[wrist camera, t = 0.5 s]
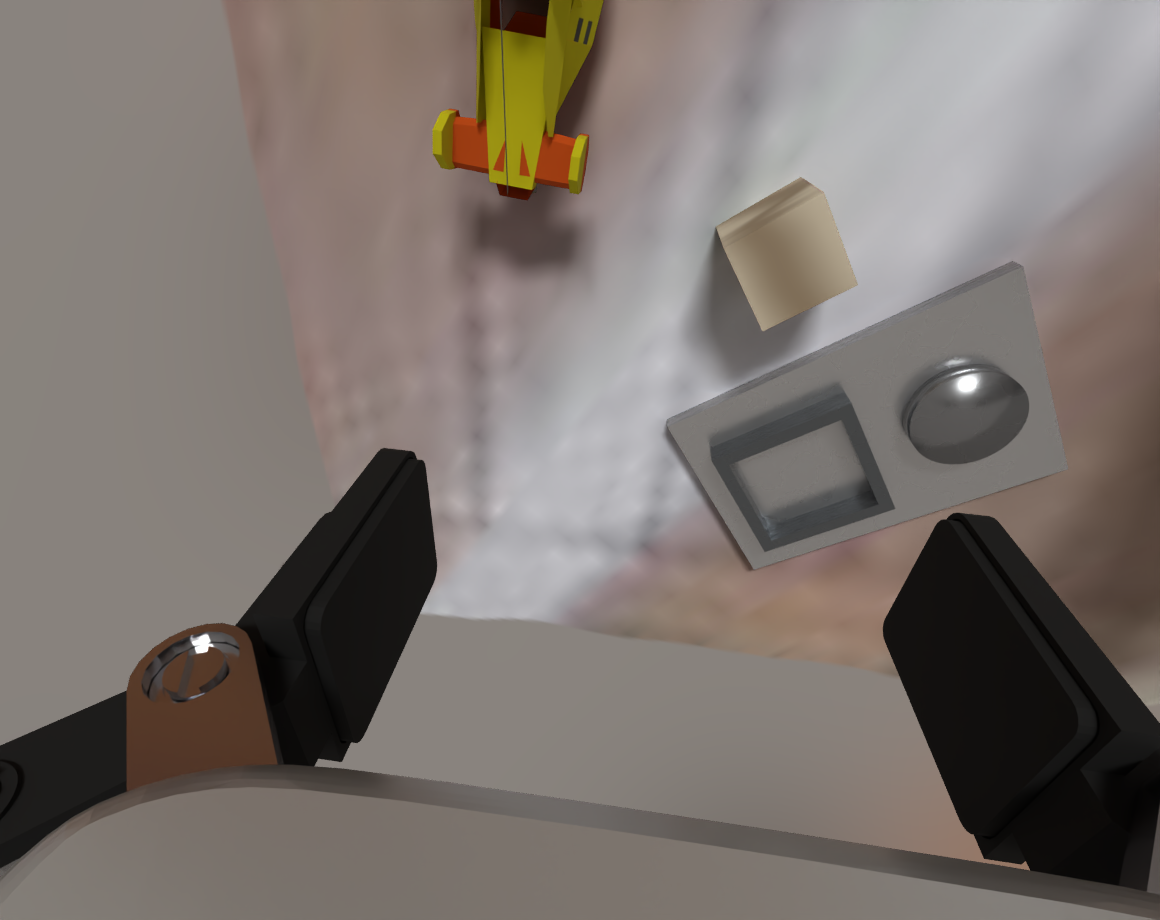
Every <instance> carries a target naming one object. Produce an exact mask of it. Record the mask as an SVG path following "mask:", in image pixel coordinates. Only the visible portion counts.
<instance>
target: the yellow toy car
mask: <svg viewBox="0 0 1160 920" xmlns="http://www.w3.org/2000/svg"><path fill="white" fill-rule="evenodd" d="M603 1H604V0H550V1H549V9H548V16H547V17H546V16H541V15H535V14H530V13H525V12H519V11H516V13H515V14H514V16H513V17H512V19H511V20H510V22H509V24H508V25H507V27H506V28H505V30H503V29H502V0H474V11H475V24H476V29H477V90H476V119H474V118H465V117H460V114H459V110H454V109H448V110H445V111H443V112H441V113H440V115H439V117H438V119H437V121H436V124H435V126H434V128H433V155H434V156H435V158H436V160H437V161H438V163H439V165H440V167H441V168H444V169H449V170H450V169H454V168H463V169H467V170H472V171H477V172H482V173H487V174H489V182H493V183H496V184H497V187H498V191H499V194H500V195H502V196H507V197H512V198H517V199H523V200H528V199H529V197H530V196H531V194H532V193H536V189H537V183H540V184H545V185H551V186H556V187H561V188H567V189H569V190H570V193H574V194H579V193H580V192H581V191H582V186H583V181H584V176H585V170H586V163H587V156H588V148H589V135H586V134H581V133H580V135H579V136H578V137H577V138H576V139H574V138H570V137H566V136H563V135H559V134H555V133H554V127H555V120H556V115H557V113H558V111H559V109H560V107H561V105H562V103H563V101H564V99H565V97H566V95H567V93H568V91H569V90H570V88H571V86H572V84H573V82H574V80H575V78H576V76H577V74H578V72H579V70H580V68H581V66H582V64H583V63H584V61H585V59H586V57H587V55H588V53H589V51H590V49H591V47H592V44H593V40H594V36H595V32H596V28H597V24H598V20H599V17H600V13H601V9H602V5H603ZM571 8H572V9H571ZM570 12H571V13H570Z"/></svg>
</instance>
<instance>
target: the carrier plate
mask: <svg viewBox="0 0 1160 920" xmlns="http://www.w3.org/2000/svg"><path fill="white" fill-rule="evenodd" d="M667 427H668V429H669V431H670V432H671V434H672V436H673V437H674V439H675V441H676V442H677V444H678V446H679V447H680V449H681V451H682V452H683V454H684V455H685V457H686V459H687V460H688V462H689V464H690V465H691V467H692V469H693V470H694V472H695V474H696V475H697V477H698V479H699V480H700V482H701V483H702V485H703V487H704V488H705V490H706V492H707V493H708V495H709V497H710V498H711V500H712V502H713V503H714V505H715V506H716V508H717V510H718V511H719V513H720V515H721V516H722V518H723V520H724V521H725V523H726V525H727V526H728V528H729V530H730V531H731V533H732V534H733V536H734V538H735V539H736V541H737V543H738V544H739V546H740V548H741V549H742V551H743V553H744V554H745V556H746V558H747V559H748V561H749V562H750V564H751V566H752V567H753V569H754V570H755V569H758V568H761V567H764V566H767V565H770V564H773V563H776V562H780V561H783V560H786V559H789V558H792V557H795V556H798V555H801V554H805V553H808V552H811V551H814V550H817V549H820V548H823V547H826V546H830V545H833V544H836V543H839V542H842V541H845V540H848V539H851V538H855V537H858V536H861V535H864V534H867V533H870V532H873V531H876V530H880V529H883V528H886V527H889V526H892V525H895V524H898V523H901V522H905V521H908V520H911V519H914V518H917V517H920V516H923V515H926V514H930V513H933V512H936V511H939V510H942V509H945V508H948V507H951V506H954V505H958V504H961V503H964V502H967V501H970V500H973V499H976V498H979V497H983V496H986V495H989V494H992V493H995V492H998V491H1001V490H1004V489H1008V488H1011V487H1014V486H1017V485H1020V484H1023V483H1026V482H1029V481H1033V480H1036V479H1039V478H1042V477H1045V476H1048V475H1051V474H1054V473H1058V472H1061V471H1064V470H1067V469H1068V466H1067V461H1066V457H1065V452H1064V448H1063V443H1062V439H1061V434H1060V430H1059V425H1058V421H1057V416H1056V412H1055V407H1054V403H1053V398H1052V394H1051V389H1050V385H1049V380H1048V376H1047V371H1046V367H1045V362H1044V358H1043V354H1042V349H1041V345H1040V340H1039V336H1038V331H1037V327H1036V322H1035V318H1034V313H1033V309H1032V304H1031V300H1030V295H1029V291H1028V286H1027V282H1026V277H1025V273H1024V268H1023V266H1021V265H1019V264H1017V263H1015V262H1013V261H1012V262H1010V263H1008V264H1006V265H1004V266H1001V267H999V268H997V269H995V270H993V271H990V272H988V273H986V274H984V275H982V276H980V277H977V278H975V279H973V280H971V281H969V282H966V283H964V284H962V285H960V286H958V287H955V288H953V289H951V290H949V291H947V292H945V293H942V294H940V295H938V296H936V297H934V298H931V299H929V300H927V301H925V302H923V303H921V304H918V305H916V306H914V307H912V308H910V309H907V310H905V311H903V312H901V313H899V314H897V315H894V316H892V317H890V318H888V319H886V320H883V321H881V322H879V323H877V324H875V325H872V326H870V327H868V328H866V329H864V330H862V331H859V332H857V333H855V334H853V335H851V336H848V337H846V338H844V339H842V340H840V341H838V342H835V343H833V344H831V345H829V346H827V347H824V348H822V349H820V350H818V351H816V352H814V353H811V354H809V355H807V356H805V357H803V358H800V359H798V360H796V361H794V362H792V363H789V364H787V365H785V366H783V367H781V368H779V369H776V370H774V371H772V372H770V373H768V374H765V375H763V376H761V377H759V378H757V379H755V380H752V381H750V382H748V383H746V384H744V385H741V386H739V387H737V388H735V389H733V390H731V391H728V392H726V393H724V394H722V395H720V396H717V397H715V398H713V399H711V400H709V401H706V402H704V403H702V404H700V405H698V406H696V407H693V408H691V409H689V410H687V411H685V412H682V413H680V414H678V415H676V416H674V417H672V418H669V419H667Z"/></svg>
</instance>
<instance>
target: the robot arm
mask: <svg viewBox="0 0 1160 920" xmlns="http://www.w3.org/2000/svg"><path fill="white" fill-rule="evenodd" d="M436 572H437V559H436V550H435V542H434V533H433V525H432V516H431V508H430V500H429V491H428V483H427V474H426V467H425V463H424V461H423V460H417V458H416V455H415V453H414V452H412V451H405V450H396V449H387V448H383V449H381V450H380V451H378V453H377V454H376V455H375V457H374V458H373V459H372V460H371V462H370V463H369V464H368V465H367V467H366V468H365V469H364V471H363V472H362V473H361V474H360V476H359V477H358V478H357V480H356V481H355V482H354V483H353V485H352V486H351V487H350V489H349V490H348V491H347V492H346V494H345V495H344V496H343V498H342V499H341V500H340V501H339V503H338V504H337V505H336V507H335V508H334V509H333V511H332V512H329V513H326V514H325V515H324V516H323V517H322V518H320V520H319V521H318V522H317V523H316V525H315V526H314V527H313V528H312V530H311V531H310V532H309V534H308V535H307V536H306V537H305V539H304V540H303V541H302V542H301V543H300V545H299V546H298V547H297V549H296V550H295V551H294V552H293V554H292V555H291V556H290V557H289V559H288V560H287V561H286V562H285V564H284V565H283V566H282V567H281V569H280V570H279V571H278V573H277V574H276V575H275V576H274V578H273V579H272V580H271V581H270V583H269V584H268V585H267V586H266V588H265V589H264V590H263V592H262V593H261V594H260V595H259V596H258V598H257V599H256V600H255V602H254V603H253V604H252V605H251V607H250V608H249V609H248V610H247V612H246V613H245V614H244V615H243V617H242V618H241V619H240V621H239V622H238V623H237V624H236V625H235V626H234V625H229V624H225V623H216V624H204V625H200V626H196V627H193V628H188V629H186V630H184V631H182V632H180V633H177V634H175V635H173V636H171V637H169V638H167V639H166V640H164V641H163V642H161V643H160V644H159V645H157V646H155V647H154V648H153V649H152V650H151V651H150V652H149V653H148V654H146V655H145V657H143V658H142V659H141V660H140V661H139V663H138V664H137V666H136V667H135V669H134V671H133V672H132V674H131V675H130V678H129V682H128V687H127V691H125V692H122V693H120V694H118V695H115V696H113V697H111V698H109V699H106V700H104V701H102V702H99V703H97V704H95V705H93V706H90V707H88V708H86V709H83V710H81V711H79V712H76V713H74V714H72V715H70V716H67V717H65V718H63V719H60V720H58V721H56V722H54V723H51V724H49V725H47V726H44V727H42V728H40V729H37V730H35V731H33V732H31V733H28V734H26V735H24V736H22V737H19V738H17V739H15V740H12V741H10V742H8V743H5V744H3V745H1V746H0V920H1160V723H1159V722H1158V721H1157V719H1156V718H1155V717H1154V716H1153V714H1152V713H1151V712H1150V711H1149V709H1148V708H1147V707H1146V706H1145V704H1144V703H1143V702H1142V701H1141V699H1140V698H1139V697H1138V696H1137V694H1136V693H1135V692H1134V691H1133V689H1132V688H1131V687H1130V686H1129V684H1128V683H1127V682H1126V681H1125V679H1124V678H1123V677H1122V676H1121V674H1120V673H1119V672H1118V671H1117V669H1116V668H1115V667H1114V666H1113V664H1112V663H1111V662H1110V661H1109V659H1108V658H1107V657H1106V656H1105V654H1104V653H1103V652H1102V651H1101V649H1100V648H1099V647H1098V646H1097V644H1096V643H1095V642H1094V641H1093V639H1092V638H1091V637H1090V636H1089V634H1088V633H1087V632H1086V631H1085V629H1084V628H1083V627H1082V626H1081V624H1080V623H1079V622H1078V621H1077V619H1076V618H1075V617H1074V616H1073V614H1072V613H1071V612H1070V611H1069V609H1068V608H1067V607H1066V606H1065V604H1064V603H1063V602H1062V601H1061V599H1060V598H1059V597H1058V596H1057V594H1056V593H1055V592H1054V591H1053V589H1052V588H1051V587H1050V586H1049V584H1048V583H1047V582H1046V581H1045V579H1044V578H1043V577H1042V576H1041V574H1040V573H1039V572H1038V571H1037V569H1036V568H1035V567H1034V566H1033V564H1032V563H1031V562H1030V561H1029V559H1028V558H1027V557H1026V556H1025V554H1024V553H1023V552H1022V551H1021V549H1020V548H1019V547H1018V546H1017V544H1016V543H1015V542H1014V541H1013V539H1012V538H1011V537H1010V536H1009V534H1008V533H1007V532H1006V531H1005V529H1004V528H1003V527H1002V526H1001V524H1000V523H999V522H998V521H997V520H996V519H995V518H993V517H990V516H982V515H973V514H964V513H953V514H952V515H950V516H949V517H948V518H947V519H946V520H941V521H939V522H938V523H937V524H936V526H935V528H934V530H933V531H932V533H931V535H930V537H929V539H928V541H927V542H926V544H925V546H924V548H923V550H922V552H921V554H920V555H919V557H918V559H917V561H916V563H915V565H914V566H913V568H912V570H911V572H910V574H909V576H908V578H907V579H906V581H905V583H904V585H903V587H902V589H901V591H900V592H899V594H898V596H897V598H896V600H895V602H894V603H893V605H892V607H891V609H890V611H889V613H888V615H887V616H886V618H885V621H884V624H883V636H884V640H885V643H886V645H887V647H888V650H889V652H890V655H891V657H892V659H893V662H894V664H895V667H896V669H897V671H898V674H899V676H900V679H901V681H902V683H903V686H904V688H905V691H906V692H907V695H908V697H909V700H910V702H911V705H912V707H913V710H914V712H915V714H916V717H917V719H918V722H919V724H920V726H921V729H922V731H923V733H924V736H925V738H926V741H927V743H928V746H929V748H930V750H931V752H932V755H933V757H934V760H935V762H936V765H937V767H938V769H939V772H940V774H941V777H942V779H943V781H944V784H945V786H946V789H947V791H948V793H949V796H950V798H951V800H952V803H953V805H954V808H955V810H956V813H957V815H958V817H959V820H960V822H961V823H962V825H963V827H964V828H965V829H966V831H968V832H969V833H970V834H974V836H975V839H976V841H977V843H978V846H979V848H980V850H981V853H982V855H983V857H984V859H989V860H995V861H1002V862H1009V863H1015V864H1022V863H1024V862H1025V861H1026V862H1027V864H1028V866H1029V868H1030V871H1029V870H1024V869H1017V868H1012V867H1006V866H1000V865H994V864H987V863H981V862H975V861H968V860H962V859H955V858H948V857H942V856H936V855H930V854H923V853H917V852H911V851H904V850H898V849H891V848H885V847H878V846H872V845H866V844H859V843H852V842H846V841H840V840H834V839H827V838H821V837H814V836H808V835H800V834H794V833H788V832H781V831H774V830H768V829H761V828H755V827H748V826H741V825H735V824H729V823H722V822H715V821H709V820H702V819H695V818H689V817H682V816H675V815H669V814H662V813H655V812H649V811H642V810H635V809H629V808H622V807H615V806H609V805H601V804H595V803H588V802H581V801H574V800H568V799H560V798H554V797H547V796H540V795H533V794H525V793H520V792H512V791H506V790H499V789H492V788H485V787H478V786H470V785H465V784H458V783H451V782H444V781H436V780H427V779H420V778H412V777H404V776H396V775H389V774H381V773H373V772H365V771H357V770H349V769H340V768H327V767H314V766H315V764H316V762H317V760H318V759H325V760H332V761H338V762H342V760H343V758H344V756H345V754H346V752H347V749H348V748H349V746H350V743H351V742H353V743H358V742H360V741H361V739H362V738H363V736H364V734H365V732H366V730H367V728H368V726H369V724H370V722H371V719H372V717H373V715H374V713H375V711H376V708H377V706H378V704H379V702H380V700H381V697H382V695H383V693H384V691H385V689H386V686H387V684H388V682H389V680H390V678H391V675H392V673H393V671H394V669H395V667H396V664H397V662H398V660H399V658H400V656H401V653H402V651H403V649H404V647H405V645H406V643H407V640H408V638H409V636H410V634H411V631H412V629H413V627H414V625H415V623H416V621H417V618H418V616H419V614H420V612H421V610H422V607H423V605H424V603H425V601H426V599H427V596H428V594H429V592H430V590H431V588H432V585H433V583H434V581H435V577H436Z"/></svg>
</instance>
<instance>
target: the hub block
mask: <svg viewBox="0 0 1160 920" xmlns="http://www.w3.org/2000/svg"><path fill="white" fill-rule="evenodd" d="M716 229H717V231H718V234H719V237H720V240H721V242H722V245H723V248H724V250H725V252H726V254H727V257H728V259H729V261H730V263H731V265H732V267H733V269H734V272H735V274H736V276H737V278H738V280H739V282H740V284H741V286H742V289H743V291H744V293H745V295H746V297H747V299H748V301H749V304H750V306H751V308H752V310H753V312H754V314H755V316H756V318H757V321H758V323H759V325H760V327H761V329H762V331H765V330H767V329H769V328H771V327H773V326H775V325H777V324H779V323H781V322H783V321H785V320H787V319H789V318H791V317H793V316H795V315H798V314H800V313H802V312H804V311H806V310H808V309H810V308H812V307H814V306H816V305H818V304H820V303H822V302H824V301H826V300H828V299H830V298H832V297H834V296H836V295H838V294H840V293H843V292H845V291H847V290H849V289H851V288H853V287H855V286H857V285H858V284H857V281H856V278H855V275H854V273H853V270H852V267H851V265H850V262H849V259H848V256H847V254H846V251H845V248H844V246H843V243H842V240H841V237H840V235H839V232H838V229H837V227H836V224H835V221H834V218H833V216H832V213H831V210H830V208H829V205H828V202H827V199H826V197H825V194H824V192H823V191H821V190H820V189H818V188H817V187H815V186H814V185H812V184H811V183H809V182H808V181H806V180H805V179H803V178H802V177H800V178H798V179H797V180H795V181H793V182H791V183H790V184H788V185H786V186H785V187H783V188H781V189H780V190H778V191H776V192H774V193H773V194H771V195H769V196H768V197H766V198H764V199H762V200H761V201H759V202H757V203H756V204H754V205H752V206H750V207H749V208H747V209H745V210H744V211H742V212H740V213H738V214H737V215H735V216H733V217H732V218H730V219H728V220H726V221H725V222H723V223H721V224H720V225H718V226H716Z"/></svg>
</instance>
